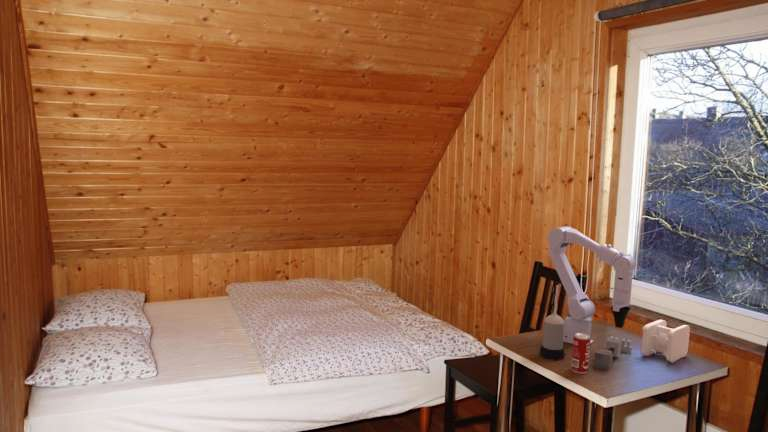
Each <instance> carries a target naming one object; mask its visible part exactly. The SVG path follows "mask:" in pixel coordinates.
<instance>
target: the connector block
mask: <svg viewBox="0 0 768 432" xmlns="http://www.w3.org/2000/svg"><path fill="white" fill-rule="evenodd" d="M593 355H594V357H593V367H594V368H598V369H601V370H604V371H605V370H606V371H610V370H611V369H612V368H613V358H614V356H613V353H610V352H606V351H601V349H596V350H595V351H594V354H593Z"/></svg>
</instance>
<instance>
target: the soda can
mask: <svg viewBox="0 0 768 432" xmlns="http://www.w3.org/2000/svg"><path fill="white" fill-rule="evenodd" d="M589 337H590V338H589ZM590 340H591V335H590V336H589V335H587V334H582V333H576V334H575V336H574V338H573V344H572V350H571V351H572V352H571V362H570V363H571V365H570V370H571V372H572V373H573V372H574V373H575V374H581V375H585V374H587V373H588V372H589V363H590V351H591V350H590V348H591V344H590Z"/></svg>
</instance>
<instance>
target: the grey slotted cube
mask: <svg viewBox="0 0 768 432" xmlns="http://www.w3.org/2000/svg"><path fill="white" fill-rule="evenodd" d="M605 343H606V344H605V350H606V351H609V350H610V349H611V348H614V351H613V352H612V353H613V358H614V357H615V358H618V357H619V356H621V344H622V339H619V340H618V339H615V338H614V337H613V338H610V337H609V338H607V340H606V341H605Z"/></svg>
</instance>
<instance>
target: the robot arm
mask: <svg viewBox="0 0 768 432" xmlns="http://www.w3.org/2000/svg"><path fill="white" fill-rule="evenodd" d="M546 239H547V241H548V255H549V258H550V259H551V261H552V264H553V266H554V268H555V271H556V273H557V275H558V277H559V279H560V282H561V283H562V286H563V288H564V290H565V292H566V295H567V302H566V303H567V307H568V314H569V316H565V318H564V320H563V321H564V336H563V343H568V344H571V345H573V338H574V336H575V334H576V333H582V334H587V335H589V336H590V337H589V338H590V345H591V344H592V343H594V340H593V339H591V332H592V319H593V318H592V315H594V313H595V312H596V306H595V303H594V302H593V301H592V300H590V299H591V298H589V296H588V295H587V294H586V293H585V292H583V289H582V288H581V286H580V283H579V281H578V280H577V277H576V276H575V273H574V270H573V268H572V267H571V264H570V261H569V260H568V257H567V254H566V252H567V249H568V246H569V245H570V244H577V245H579V246H581V247H583V248H585V249H588V250H589V251H591V252H593V253H594V254H595V256H596V258H597V259H599V260H601V261H602V262H604V263H606V264H607V265H609V266H611V267H613V269H614V271H615V273H614V282H613V283H614V284H613V295H612V300H611V303H612V306H611V308H610V310H611V313H612V315H613V319H614V326H615V328H619V329H622V328H623V327H624V325H625V322H626V319H627V316H628V314H629V312H630V311H631V308H632V307H633V306H634V305H635V304H634V302H632V301H631V296H632V286H633V270H634V269H635V268H636V266H637V263H636V262H637V261H636V259H635V257H633V256H632V255H631V254H625V253H624V251H619V250H617V249H615V248H613V245H612V244H610V243H609V244H606V243H603V244H600V243H598V242H597V241H595V240H593V239H592V238H590V237H588V236H587V235H585V234H583V233H582V232H580V231H579V230H578V229H576V228H573V227H571V226H570V225H564V226H560V227H554V228H552V229H550V231H549V233H548V235H547V236H546Z"/></svg>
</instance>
